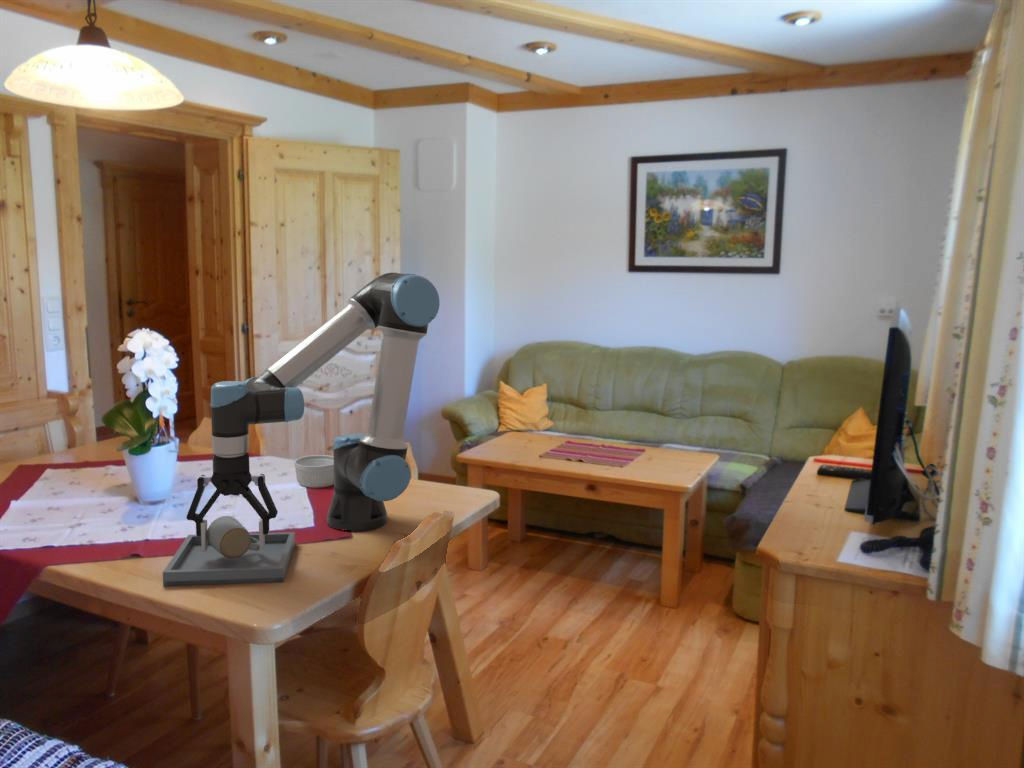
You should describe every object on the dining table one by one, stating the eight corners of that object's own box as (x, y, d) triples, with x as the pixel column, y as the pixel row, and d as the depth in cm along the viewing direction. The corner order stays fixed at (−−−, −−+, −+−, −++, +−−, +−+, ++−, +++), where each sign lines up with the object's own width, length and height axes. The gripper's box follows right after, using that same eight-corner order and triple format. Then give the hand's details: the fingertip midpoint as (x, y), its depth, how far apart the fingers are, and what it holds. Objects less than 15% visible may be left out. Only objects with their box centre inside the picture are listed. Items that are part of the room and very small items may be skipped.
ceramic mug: (220, 563, 170) (220, 528, 169) (206, 551, 176) (205, 518, 175) (267, 553, 177) (267, 520, 176) (252, 542, 183) (252, 510, 182)
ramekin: (316, 492, 230) (316, 468, 229) (284, 483, 237) (284, 461, 236) (349, 481, 241) (348, 459, 240) (318, 474, 248) (317, 452, 247)
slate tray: (295, 544, 189) (294, 532, 189) (283, 582, 168) (283, 568, 167) (188, 547, 185) (188, 534, 185) (163, 586, 164) (162, 572, 164)
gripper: (289, 448, 178) (291, 541, 182) (177, 449, 174) (181, 544, 178) (285, 456, 171) (287, 553, 174) (168, 458, 167) (172, 556, 171)
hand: (233, 548), depth 176 cm, fingers closed on ceramic mug, 11 cm apart
